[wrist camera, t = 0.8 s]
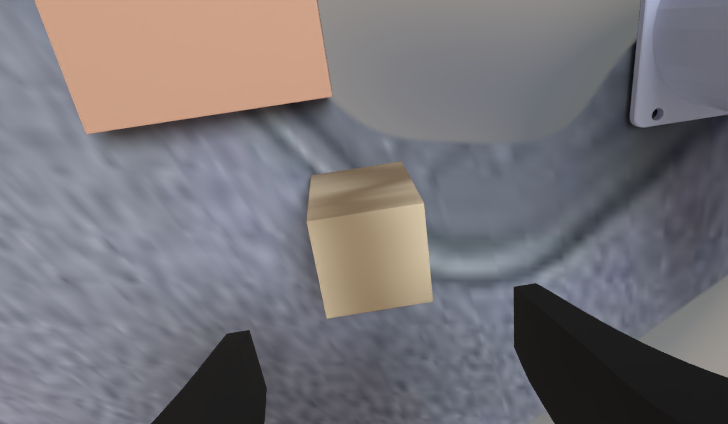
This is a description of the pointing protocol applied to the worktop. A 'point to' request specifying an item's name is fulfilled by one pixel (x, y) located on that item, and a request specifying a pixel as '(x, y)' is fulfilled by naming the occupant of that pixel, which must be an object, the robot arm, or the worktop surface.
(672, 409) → the robot arm
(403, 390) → the worktop surface
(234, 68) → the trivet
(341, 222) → the beech block
